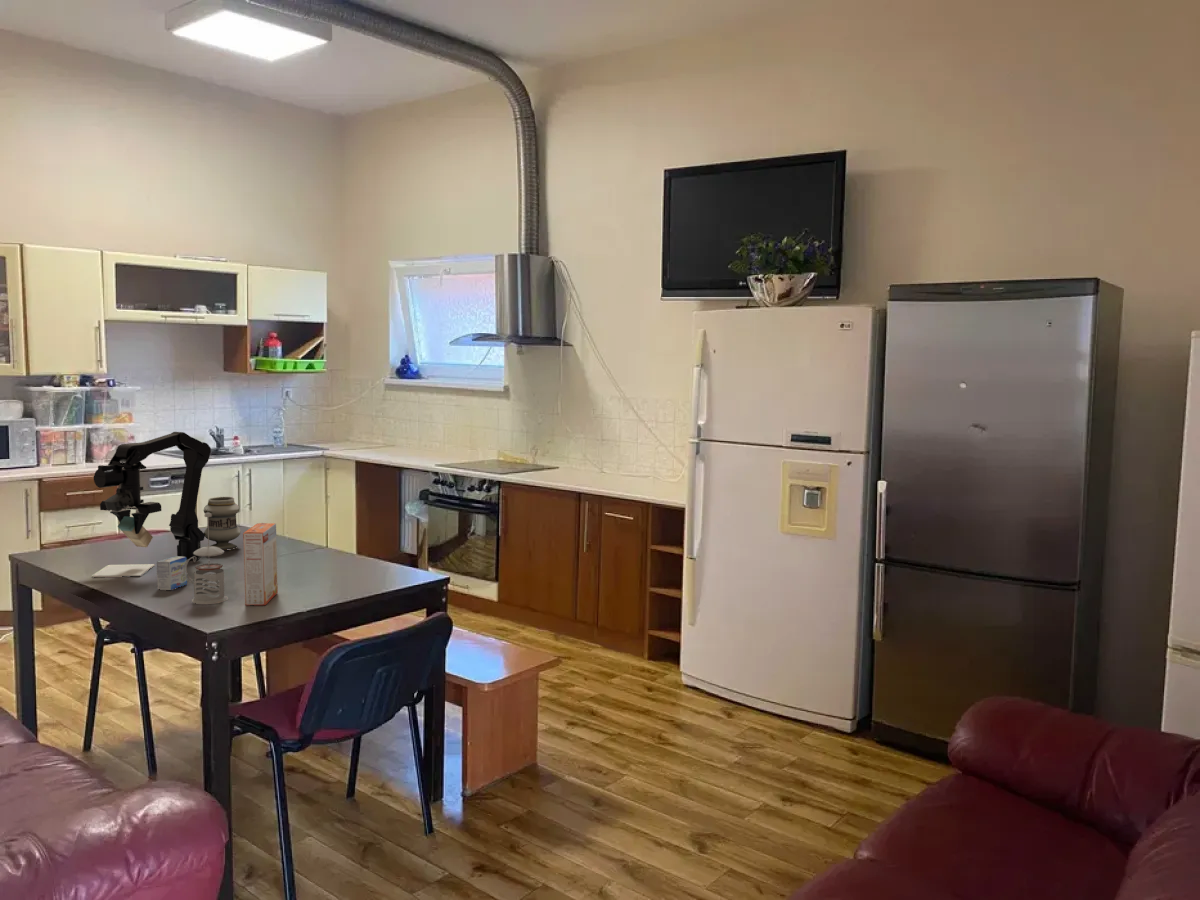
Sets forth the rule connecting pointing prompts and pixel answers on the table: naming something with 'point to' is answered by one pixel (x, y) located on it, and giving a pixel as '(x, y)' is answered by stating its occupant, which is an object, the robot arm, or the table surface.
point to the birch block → (129, 530)
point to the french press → (208, 576)
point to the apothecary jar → (222, 522)
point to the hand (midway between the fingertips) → (131, 533)
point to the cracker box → (260, 563)
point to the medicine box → (171, 573)
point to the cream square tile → (123, 570)
